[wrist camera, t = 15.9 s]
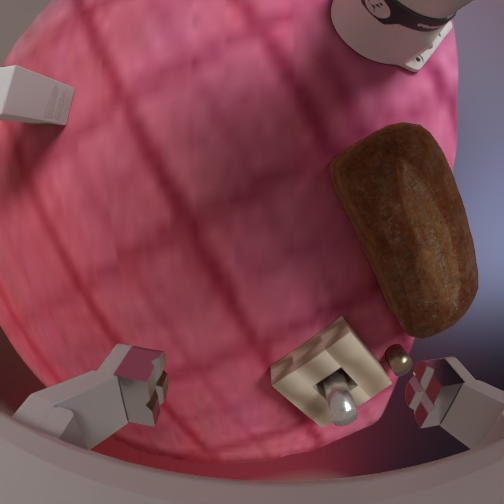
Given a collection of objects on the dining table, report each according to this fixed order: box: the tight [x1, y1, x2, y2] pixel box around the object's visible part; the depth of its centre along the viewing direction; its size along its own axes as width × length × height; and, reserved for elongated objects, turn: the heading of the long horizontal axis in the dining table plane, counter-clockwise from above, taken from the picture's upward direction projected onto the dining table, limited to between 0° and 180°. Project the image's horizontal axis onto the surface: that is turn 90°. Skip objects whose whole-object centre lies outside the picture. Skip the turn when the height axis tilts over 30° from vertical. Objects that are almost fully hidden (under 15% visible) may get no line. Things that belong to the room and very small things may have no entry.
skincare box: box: [0, 65, 75, 125], centre depth 29 cm, size 8×7×16 cm
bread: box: [329, 122, 478, 338], centre depth 35 cm, size 14×28×12 cm, turn 30°
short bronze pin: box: [385, 344, 413, 376], centre depth 44 cm, size 4×4×4 cm
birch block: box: [271, 316, 392, 428], centre depth 45 cm, size 14×14×5 cm
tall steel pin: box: [322, 368, 358, 426], centre depth 41 cm, size 4×4×12 cm
